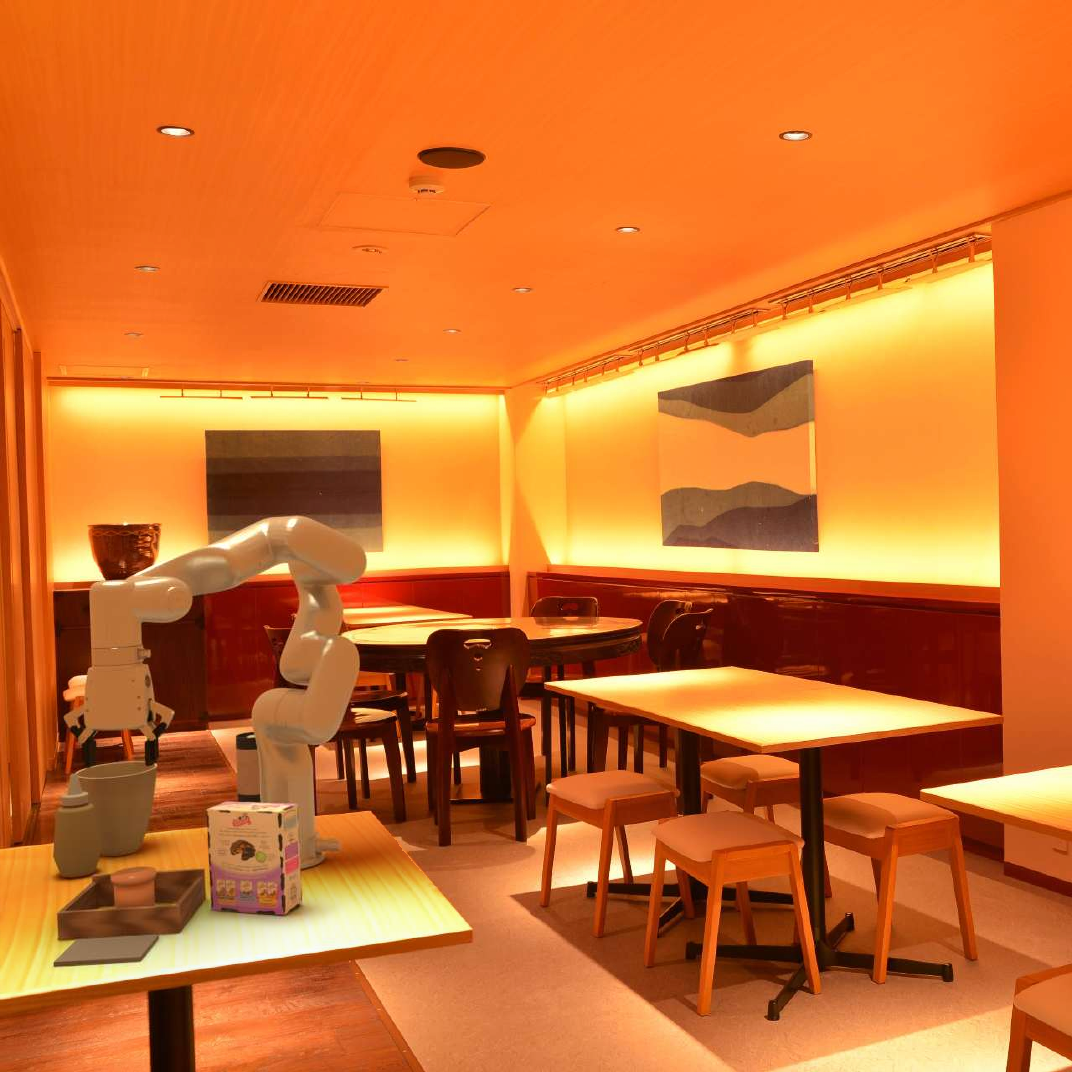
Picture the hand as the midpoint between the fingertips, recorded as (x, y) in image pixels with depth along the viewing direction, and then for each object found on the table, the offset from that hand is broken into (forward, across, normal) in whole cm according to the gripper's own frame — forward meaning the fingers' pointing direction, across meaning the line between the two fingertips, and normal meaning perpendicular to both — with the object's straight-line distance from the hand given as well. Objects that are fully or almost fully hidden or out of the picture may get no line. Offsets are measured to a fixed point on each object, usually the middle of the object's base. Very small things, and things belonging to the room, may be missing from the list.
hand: (121, 765), depth 178 cm
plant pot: (+24, +16, -38) cm, 48 cm away
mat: (+24, -4, +16) cm, 29 cm away
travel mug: (+24, -8, -48) cm, 54 cm away
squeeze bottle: (+24, +18, -24) cm, 39 cm away
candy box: (+24, -20, -2) cm, 31 cm away
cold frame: (+24, -2, +1) cm, 24 cm away
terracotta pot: (+24, -2, +1) cm, 24 cm away
